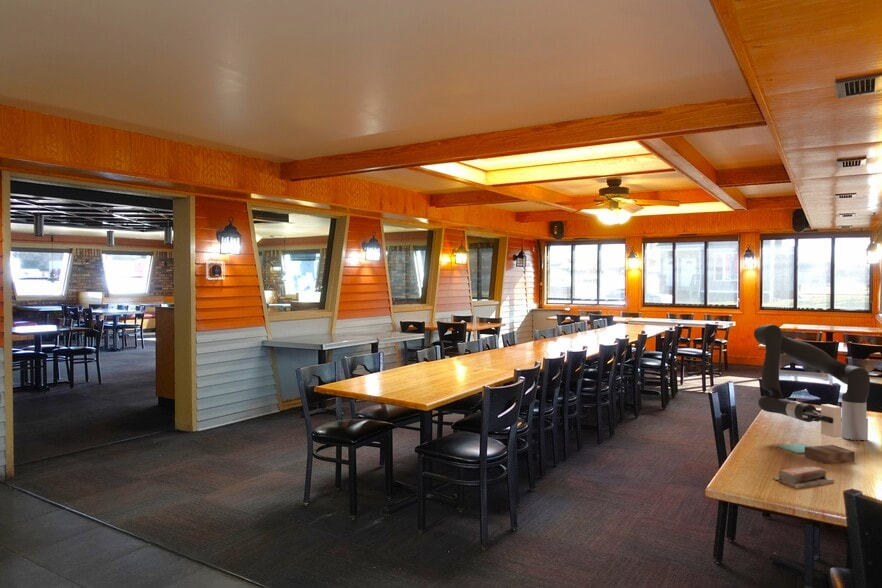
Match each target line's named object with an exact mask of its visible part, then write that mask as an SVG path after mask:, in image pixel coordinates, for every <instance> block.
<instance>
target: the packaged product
mask: <svg viewBox="0 0 882 588" xmlns="http://www.w3.org/2000/svg"><path fill="white" fill-rule="evenodd" d="M772 479H773V480H774V479H776V480H778V481H777V482H779V481H781V482H783V483H782V484H784V483H786V484H785V485H787V484H789V485H788V486H790V485H792V486H794V487H793V488H795V487H797V488H796V489H802V488H801V487H804V488H810V486H811V487H815V486H822V485H827V484H833V483H834V481H835V478H831V477H827V471H826V470H825V469H823V468H822V467H818V466H805V467H797V468H795V467H794V468H787V469H782V470H779V474H778V476H776V477H773V478H772ZM776 480H775V481H776ZM781 482H780V483H781ZM792 486H791V487H792Z"/></svg>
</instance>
